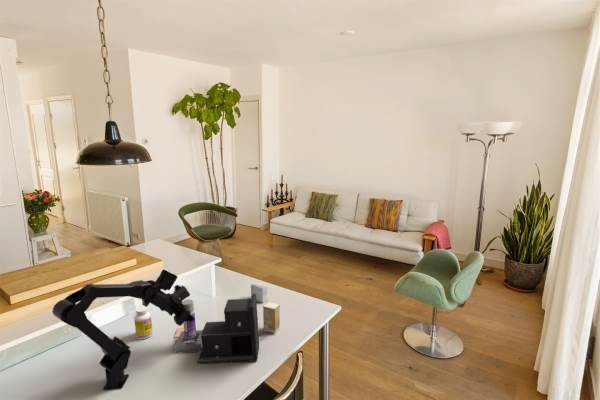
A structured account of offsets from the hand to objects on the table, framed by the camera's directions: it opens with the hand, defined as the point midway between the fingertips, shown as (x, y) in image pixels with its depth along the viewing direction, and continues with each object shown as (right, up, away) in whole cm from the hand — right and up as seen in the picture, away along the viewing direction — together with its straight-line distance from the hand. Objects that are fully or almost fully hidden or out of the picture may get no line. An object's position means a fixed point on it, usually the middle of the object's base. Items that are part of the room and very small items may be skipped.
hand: (192, 317), depth 141 cm
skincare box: (+32, -10, +11) cm, 35 cm away
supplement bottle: (-24, -11, +9) cm, 28 cm away
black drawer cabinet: (+17, -13, -5) cm, 22 cm away
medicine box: (+24, -4, +39) cm, 45 cm away
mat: (-7, -10, +10) cm, 16 cm away
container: (-1, -8, +1) cm, 8 cm away
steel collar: (-1, -12, +2) cm, 12 cm away
